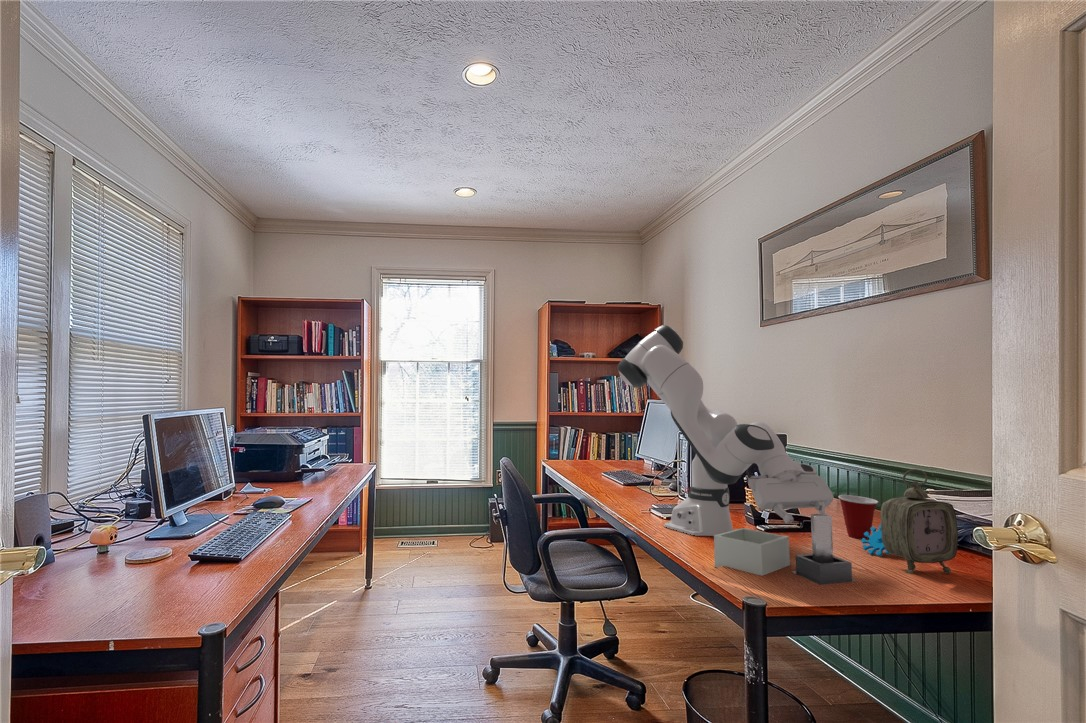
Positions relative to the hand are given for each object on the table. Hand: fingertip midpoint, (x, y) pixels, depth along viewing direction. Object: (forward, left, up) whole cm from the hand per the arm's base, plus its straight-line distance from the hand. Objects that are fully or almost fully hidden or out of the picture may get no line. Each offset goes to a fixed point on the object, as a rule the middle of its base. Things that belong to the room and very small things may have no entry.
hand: (807, 521), depth 137 cm
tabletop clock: (+16, +23, -13) cm, 31 cm away
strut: (+4, -1, -12) cm, 13 cm away
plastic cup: (-8, +49, -13) cm, 51 cm away
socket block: (+4, -1, -13) cm, 14 cm away
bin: (-12, -5, -13) cm, 18 cm away
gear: (+4, +33, -13) cm, 36 cm away
